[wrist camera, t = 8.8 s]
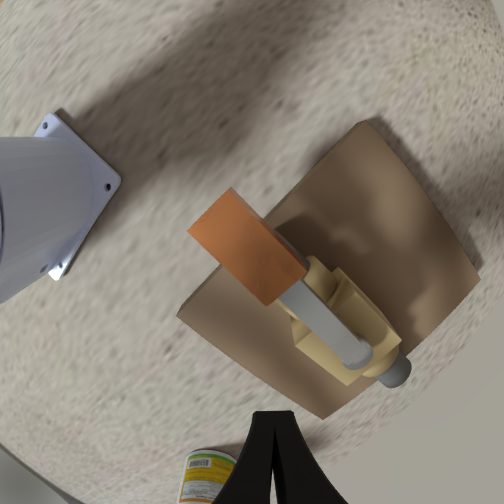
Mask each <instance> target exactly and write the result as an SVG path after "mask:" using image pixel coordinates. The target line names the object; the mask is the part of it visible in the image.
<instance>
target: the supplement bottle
mask: <svg viewBox="0 0 504 504" xmlns="http://www.w3.org/2000/svg"><path fill="white" fill-rule="evenodd" d="M236 463H237V461H236V460H235V459H234V458H233V457H232V456H230V455H228V454H226V453H223V452H219V451H214V450H198V451H194V452H192V453H190V454H189V455H188V456H187V458H186V460H185V464H184V469H183V473H182V478H181V482H180V487H179V492H178V496H177V501H176V504H211V503H212V502H213V501H214V499H215V498H216V496H217V495H218V494H219V492H220V491H221V489H222V487H223V486H224V484H225V483H226V481H227V479H228V478H229V476H230V474H231V472H232V470H233V468H234V466H235V464H236Z"/></svg>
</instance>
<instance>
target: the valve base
mask: <svg viewBox="0 0 504 504" xmlns="http://www.w3.org/2000/svg"><path fill="white" fill-rule="evenodd" d="M263 220H264V221H265V222H266V223H267V224H268V225H269V226H270V227H271V228H272V229H273V230H274V231H275V232H276V233H277V234H278V235H279V236H280V237H281V238H282V239H283V240H284V241H285V243H286V244H287V245H288V246H289V247H290V248H291V249H292V250H293V251H294V252H295V253H296V254H297V255H298V256H299V257H300V258H301V259H302V260H303V262H304V265H305V267H306V269H307V273H306V274H305V275H304V276H303V277H301V278H302V279H303V280H304V281H305V282H306V283H307V284H308V285H309V286H310V287H311V288H312V289H313V290H314V291H315V292H316V293H317V294H318V295H319V296H320V297H321V298H322V299H323V300H324V301H325V302H326V303H327V304H328V305H329V307H330V308H331V309H332V310H333V311H334V312H335V313H336V314H337V315H338V316H339V317H340V318H341V319H342V320H343V321H344V322H345V323H346V324H347V325H348V326H349V327H350V329H351V330H352V331H353V332H354V333H355V334H360V335H363V336H365V337H366V339H367V341H368V342H369V344H370V346H371V348H372V350H373V357H372V360H371V361H370V362H369V364H368V365H366V366H365V367H363V368H361V369H358V370H349V369H347V368H345V367H344V366H343V364H342V361H341V358H340V357H339V356H338V355H337V354H336V353H335V352H334V351H333V350H331V349H330V348H329V347H328V346H327V345H326V344H325V343H324V342H323V341H322V340H321V339H320V338H319V337H318V336H317V335H316V334H315V333H313V332H312V331H311V330H310V329H309V328H308V327H307V326H306V325H305V324H304V323H303V322H302V321H301V320H300V319H299V318H298V317H297V316H296V315H295V314H294V313H293V312H291V311H290V310H289V309H288V308H287V307H286V306H285V305H284V304H283V303H282V302H281V301H280V300H279V299H278V298H277V299H276V300H275V301H273V302H272V303H271V304H270V305H269V306H268V307H266V306H265V305H264V304H263V303H261V302H260V301H259V300H258V299H257V298H256V297H255V296H254V295H253V294H252V293H251V292H250V291H249V290H248V289H247V288H246V287H244V286H243V285H242V284H241V283H240V282H239V281H238V280H237V279H236V278H235V277H234V276H233V275H232V274H231V273H230V272H229V271H228V270H227V269H226V268H225V267H224V266H222V265H221V264H220V265H219V266H218V267H217V268H216V269H215V270H214V271H213V272H212V273H211V274H210V275H209V277H208V278H207V279H206V280H205V281H204V282H203V283H202V284H201V285H200V286H199V287H198V288H197V289H196V290H195V291H194V292H193V294H192V295H191V296H190V297H189V298H188V299H187V300H186V301H185V302H184V303H183V304H182V305H181V307H180V309H179V311H178V313H177V315H176V316H177V317H178V318H179V319H181V320H182V321H183V322H184V323H186V324H187V325H188V326H189V327H191V328H192V329H193V330H194V331H196V332H197V333H198V334H199V335H201V336H202V337H203V338H205V339H206V340H207V341H209V342H210V343H211V344H212V345H214V346H215V347H216V348H218V349H219V350H220V351H222V352H223V353H224V354H226V355H227V356H228V357H230V358H231V359H233V360H234V361H235V362H237V363H238V364H239V365H241V366H242V367H244V368H245V369H246V370H248V371H249V372H251V373H252V374H254V375H255V376H256V377H258V378H259V379H261V380H262V381H264V382H265V383H267V384H268V385H269V386H271V387H272V388H274V389H275V390H277V391H278V392H280V393H281V394H283V395H284V396H286V397H288V398H289V399H291V400H292V401H294V402H295V403H297V404H298V405H300V406H301V407H303V408H305V409H306V410H308V411H309V412H311V413H313V414H314V415H316V416H318V417H319V418H321V419H322V420H324V419H325V418H327V417H328V416H330V415H331V414H332V413H334V412H335V411H337V410H338V409H340V408H341V407H343V406H344V405H345V404H347V403H348V402H349V401H351V400H352V399H354V398H355V397H356V396H358V395H359V394H360V393H362V392H363V391H364V390H366V389H367V388H368V387H369V386H371V385H372V384H373V383H375V382H376V381H377V380H379V381H380V382H381V383H382V384H384V385H385V386H386V387H388V388H395V387H398V386H400V385H401V384H403V383H404V382H405V381H406V380H407V378H408V377H409V375H410V373H411V368H412V366H411V362H410V361H409V360H408V359H407V358H406V356H407V355H408V354H409V353H410V352H411V351H412V350H413V349H415V348H416V347H417V346H418V345H419V344H420V343H421V342H422V341H423V340H424V339H425V338H426V337H427V336H428V335H429V334H431V333H432V332H433V331H434V330H435V329H436V328H437V327H438V326H439V325H440V324H441V323H442V322H443V321H444V320H445V319H446V318H447V317H448V315H449V314H450V313H451V312H452V311H453V310H454V309H455V308H456V307H457V306H458V305H459V304H460V303H461V302H462V301H463V299H464V298H465V297H466V296H467V295H468V294H469V293H470V292H471V290H472V289H473V288H474V287H475V286H476V285H477V283H478V282H479V281H480V280H481V279H480V277H479V275H478V274H477V272H476V270H475V268H474V266H473V265H472V263H471V261H470V259H469V258H468V256H467V254H466V253H465V251H464V249H463V248H462V246H461V244H460V243H459V241H458V239H457V238H456V236H455V235H454V233H453V232H452V230H451V228H450V227H449V225H448V224H447V222H446V221H445V219H444V218H443V216H442V215H441V213H440V212H439V211H438V209H437V208H436V206H435V205H434V203H433V202H432V201H431V199H430V198H429V196H428V195H427V194H426V192H425V191H424V190H423V188H422V187H421V186H420V184H419V183H418V182H417V180H416V179H415V178H414V176H413V175H412V174H411V173H410V171H409V170H408V169H407V168H406V166H405V165H404V164H403V163H402V161H401V160H400V159H399V158H398V156H397V155H396V154H395V153H394V152H393V151H392V149H391V148H390V147H389V146H388V145H387V144H386V142H385V141H384V140H383V139H382V138H381V137H380V136H379V134H378V133H377V132H376V131H375V130H374V129H373V128H372V127H371V126H370V125H369V123H368V122H367V121H366V120H364V121H361V122H358V123H356V124H355V125H354V126H353V127H352V128H351V129H350V131H349V132H348V133H347V134H346V135H345V136H344V137H343V138H342V139H341V140H340V141H339V142H338V143H337V144H336V145H335V146H334V147H333V148H332V149H331V150H330V151H329V152H328V153H327V154H326V155H325V156H324V157H323V158H322V159H321V160H320V161H319V162H318V163H317V164H316V165H315V166H314V167H313V168H312V169H311V170H310V171H309V172H308V173H307V174H306V175H305V176H304V177H303V178H302V179H301V180H300V181H299V183H298V184H297V185H296V186H295V187H294V188H293V189H292V190H291V191H290V192H289V193H288V194H287V195H286V196H285V197H284V198H283V199H282V200H281V201H280V202H279V203H278V204H277V205H276V206H275V207H274V208H273V209H272V210H271V211H270V213H269V214H268V215H267V216H266V217H265V218H264V219H263Z"/></svg>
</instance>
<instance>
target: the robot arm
mask: <svg viewBox="0 0 504 504" xmlns="http://www.w3.org/2000/svg"><path fill="white" fill-rule="evenodd" d="M47 123H48V127H47V128H46V124H47ZM108 183H109V184H110V185H111V190H110V191H109V190H108V189H107V184H108ZM120 184H121V177H120V176H119V174H118V173H117V172H116V171H114V170H113V169H112V168H111V167H110V166H109V165H108V164H107V163H106V162H105V161H104V160H103V159H102V158H101V157H100V156H98V155H97V154H96V153H95V152H94V151H93V150H92V149H91V148H90V147H89V146H88V145H87V144H86V143H85V142H84V141H83V140H82V139H81V138H80V137H79V136H78V135H76V134H75V133H74V132H73V131H72V130H71V129H70V128H69V127H68V126H67V125H66V124H65V123H64V122H63V121H62V120H61V119H60V118H59V117H58V116H57V115H56V114H55V113H48V114H47V115H46V116H45V118H44V120H43V121H42V123H41V125H40V126H39V128H38V130H37V132H36V133H35V135H34V137H0V304H2V303H4V302H5V301H7V300H8V299H10V298H11V297H13V296H14V295H15V294H17V293H18V292H20V291H21V290H23V289H24V288H26V287H27V286H29V285H30V284H32V283H33V282H35V281H36V280H38V279H39V278H41V277H42V276H44V275H46V274H47V273H48V274H49V275H50V276H51V277H52V278H53V279H54V280H59V279H61V278H62V276H63V274H64V273H65V271H66V269H67V267H68V265H69V264H70V262H71V260H72V259H73V257H74V255H75V253H76V252H77V250H78V248H79V247H80V245H81V243H82V242H83V240H84V238H85V237H86V235H87V234H88V232H89V230H90V229H91V227H92V226H93V224H94V223H95V221H96V219H97V218H98V216H99V215H100V213H101V212H102V210H103V209H104V207H105V206H106V204H107V203H108V201H109V200H110V199H111V197H112V196H113V194H114V193H115V191H116V190H117V189H118V187H119V186H120ZM60 262H62V264H63V266H61V264H60ZM272 469H273V474H274V481H275V489H276V497H277V503H278V504H348V503H347V502H346V501H345V500H344V498H343V497H342V496H341V495H340V494H339V493H338V491H337V490H336V489H335V488H334V486H333V485H332V484H331V483H330V481H329V480H328V479H327V477H326V476H325V474H324V473H323V471H322V470H321V468H320V467H319V465H318V463H317V462H316V460H315V459H314V457H313V455H312V453H311V451H310V450H309V448H308V446H307V444H306V442H305V440H304V438H303V436H302V434H301V432H300V429H299V427H298V424H297V422H296V419H295V416H294V412H292V411H291V410H288V411H256V412H254V413H253V417H252V423H251V427H250V430H249V433H248V436H247V439H246V442H245V444H244V447H243V449H242V452H241V454H240V456H239V458H238V461H237V463H236V464H235V466H234V468H233V470H232V472H231V474H230V476H229V478H228V479H227V481H226V483H225V484H224V486H223V487H222V489H221V491H220V492H219V494H218V495H217V496H216V498H215V499H214V501H213V502H212V503H211V504H270V491H271V480H272Z"/></svg>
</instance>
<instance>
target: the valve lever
mask: <svg viewBox="0 0 504 504" xmlns="http://www.w3.org/2000/svg"><path fill="white" fill-rule="evenodd" d="M187 232H188V233H190V234H191V235H192V236H193V237H194V238H195V239H196V240H197V241H198V242H199V243H200V244H201V245H202V246H203V247H204V248H205V249H206V250H207V251H208V252H209V253H210V254H211V255H212V256H213V257H214V258H215V259H216V260H217V261H218V262H219V263H220V264H221V265H222V266H224V267H225V268H226V269H227V270H228V271H229V272H230V273H231V274H232V275H233V276H234V277H235V278H236V279H237V280H238V281H239V282H240V283H241V284H242V285H243V286H244V287H246V288H247V289H248V290H249V291H250V292H251V293H252V294H253V295H254V296H255V297H256V298H257V299H258V300H259V301H260V302H261V303H263V304H264V305H265V306H266V307H268V306H269V305H270V304H271V303H272V302H273V301H275V300H276V299H277V298H278V299H279V300H280V301H281V302H282V303H283V304H284V305H285V306H286V307H287V308H288V309H289V310H290V311H291V312H293V313H294V314H295V315H296V316H297V317H298V318H299V319H300V320H301V321H302V322H303V323H304V324H305V325H306V326H307V327H308V328H309V329H310V330H311V331H312V332H313V333H315V334H316V335H317V336H318V337H319V338H320V339H321V340H322V341H323V342H324V343H325V344H326V345H327V346H328V347H329V348H330V349H331V350H333V351H334V352H335V353H336V354H337V355H338V356H339V357H340V358H341V361H342V364H343V366H344V367H345V368H347V369H349V370H358V369H361V368H363V367H365V366H366V365H368V364H369V362H370V361H371V360H372V357H373V350H372V348H371V346H370V344H369V342H368V341H367V339H366V337H365V336H363V335H360V334H355V333H354V332H353V331H352V330H351V329H350V327H349V326H348V325H347V324H346V323H345V322H344V321H343V320H342V319H341V318H340V317H339V316H338V315H337V314H336V313H335V312H334V311H333V310H332V309H331V308H330V307H329V305H328V304H327V303H326V302H325V301H324V300H323V299H322V298H321V297H320V296H319V295H318V294H317V293H316V292H315V291H314V290H313V289H312V288H311V287H310V286H309V285H308V284H307V283H306V282H305V281H304V280H303V279H302V278H301V277H303V276H304V275H305V274H306V273H307V269H306V267H305V265H304V262H303V260H302V259H301V258H300V257H299V256H298V255H297V254H296V253H295V252H294V251H293V250H292V249H291V248H290V247H289V246H288V245H287V244H286V243H285V241H284V240H283V239H282V238H281V237H280V236H279V235H278V234H277V233H276V232H275V231H274V230H273V229H272V228H271V227H270V226H269V225H268V224H267V223H266V222H265V221H264V220H263V219H262V218H261V217H260V216H259V215H258V214H257V213H256V212H255V211H254V210H253V209H252V208H251V207H250V206H249V205H248V203H247V202H246V201H245V200H244V199H243V198H242V197H241V196H240V195H239V194H238V193H237V192H236V191H235V190H234V189H233V188H232V187H230V188H229V189H228V190H227V191H226V192H225V193H224V194H223V195H222V196H221V197H220V198H219V199H218V200H217V201H216V202H215V203H214V204H213V205H212V206H211V207H210V208H209V209H208V210H207V211H206V212H205V213H204V214H203V215H202V216H201V217H200V218H199V219H198V220H197V221H196V222H195V223H194V224H193V225H192V226H191V227H190V228H189V229H188V230H187Z"/></svg>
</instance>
